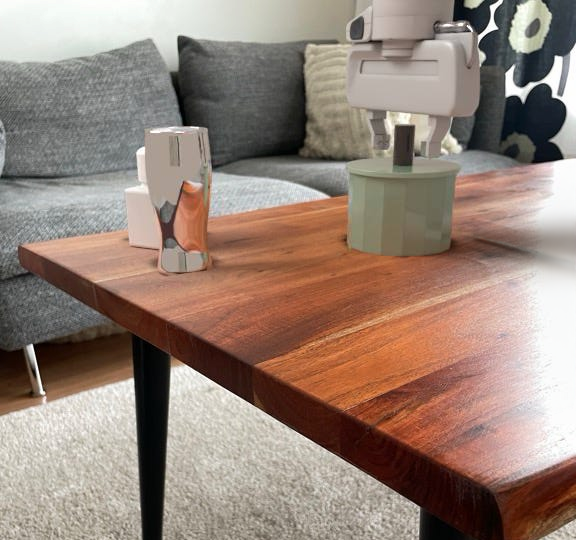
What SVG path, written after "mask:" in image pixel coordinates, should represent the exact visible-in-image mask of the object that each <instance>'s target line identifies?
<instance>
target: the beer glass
mask: <svg viewBox="0 0 576 540" xmlns="http://www.w3.org/2000/svg"><path fill="white" fill-rule="evenodd" d="M143 130H144V146H145V168H146V178H147V186H148V191H149V196H150V200H151V204H152V208H153V212H154V216H155V220H156V224H157V228H158V234H159V249H158V260H157V271H158V273H159V274H161V275H163V276H167V277H170V276H178V275H183V274H192V273H197V272H204V271H211V270H213V263H212V258H211V254H210V250H209V249H210V248H209V243H208V226H209V225H208V224H209V215H210V209H211V200H212V189H213V187H212V185H213V170H212V169H213V168H212V156H211V155H212V154H211V148H210V147H211V146H210V140H209V129H208V128H207V127H202V126H188V125H186V126H182V125H181V126H179V125H178V126H157V127H149V128H146V129H145V128H144V129H143Z"/></svg>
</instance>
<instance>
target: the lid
mask: <svg viewBox="0 0 576 540" xmlns="http://www.w3.org/2000/svg"><path fill="white" fill-rule="evenodd" d="M416 127H417V126H416V124H413V123H397V124H394V131H393V132H394V135H393V151H392V152H393V153H392V157H373V158H372V157H371V158H362V159H354V160H350V161H348V162H346V163H345V171H346V172H347V173H349V172H350V173H353V174H358V175H364V176H371V177H382V178H436V177H445V176H451V175H455V174H457V175H458V174H460V173H461V170H462V165H461V164H460V163H457V162H454V161H449V160H445V159H444V160H442V159H437V158H433V159H429V158H424V157H415V141H416V139H415V138H416Z"/></svg>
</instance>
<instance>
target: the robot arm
mask: <svg viewBox="0 0 576 540" xmlns="http://www.w3.org/2000/svg"><path fill="white" fill-rule="evenodd" d="M454 7H455V0H372V5H369V6H368V7H366V9H365V10H363V11H362V12H361V13H360V14H358V15H357V16H356V17H354V18H353V19H351V20H350V21H349V22H348V23H347V24H346V28H345V31H346V32H345V39H346V41H347V42H348V43H351V45H350V46H349V48H348V50H347V54H346V59H345V61H346V62H345V97H346V100H347V104H348V106H349V107H350V108H351V109H357V110H358V109H359V110H365V120H366V123H367V127H368V129H369V132H370V135H371V137H370V139H371V141H370V147H371V149H372V150H375V151H388V150H389V149H390V146H391V144H390V141H391V134H388V133H387V130H386V129H387V128H386V126H385V125H386V124H385V120H386V119H387V115H388V112H390V113H391V112H392V113H401V114H411V115H412V114H413V115H424V116H427V117H428V118H427V126H429V127H430V129H429V132H428V134H427V137H426V139H425V140H421V141H420V152H419V153H420V154H419V155H420V158H424V159H439V158H440V157H441V153H442V142H443V141H444V139H445V137H446V136H447V134H448V131H449V130H450V128H451V127H452V118H466V117H472V116H474V114H475V113H476V110H477V109H478V107H479V104H480V95H481V93H480V90H481V65H480V63H481V62H480V52H479V47H478V45H479V35H478V32H476V30H475V28H474V26H472V25H471V23H470V21H468V20H462V19H460V20H457V21H453V19H454ZM468 31H469V32H468Z"/></svg>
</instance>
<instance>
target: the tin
mask: <svg viewBox="0 0 576 540" xmlns="http://www.w3.org/2000/svg"><path fill="white" fill-rule="evenodd" d="M457 175H458V174H455V175H451V176H445V177H436V178H382V177H371V176H364V175H358V174H353V173H350V172H348V201H347V228H346V229H347V233H346V244H347V248H348V250H352V249H354V250H357V251H359V252H363V253H367V254H373V255H379V256H392V257H422V256H429V255H435V254H440V253H443V252H445V251H448V250H449V249H450V247H451V241H452V231H453V220H454V219H453V218H454V209H455V200H456V199H455V197H456V189H457V188H456V187H457Z"/></svg>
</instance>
